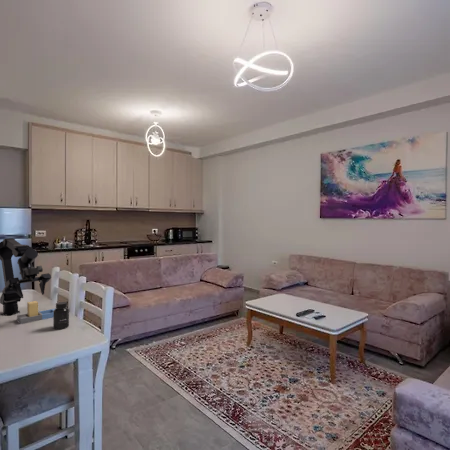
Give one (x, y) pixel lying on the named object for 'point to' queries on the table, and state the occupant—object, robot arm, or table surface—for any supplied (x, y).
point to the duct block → (40, 316)
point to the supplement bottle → (61, 316)
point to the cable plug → (32, 308)
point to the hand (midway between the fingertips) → (33, 296)
